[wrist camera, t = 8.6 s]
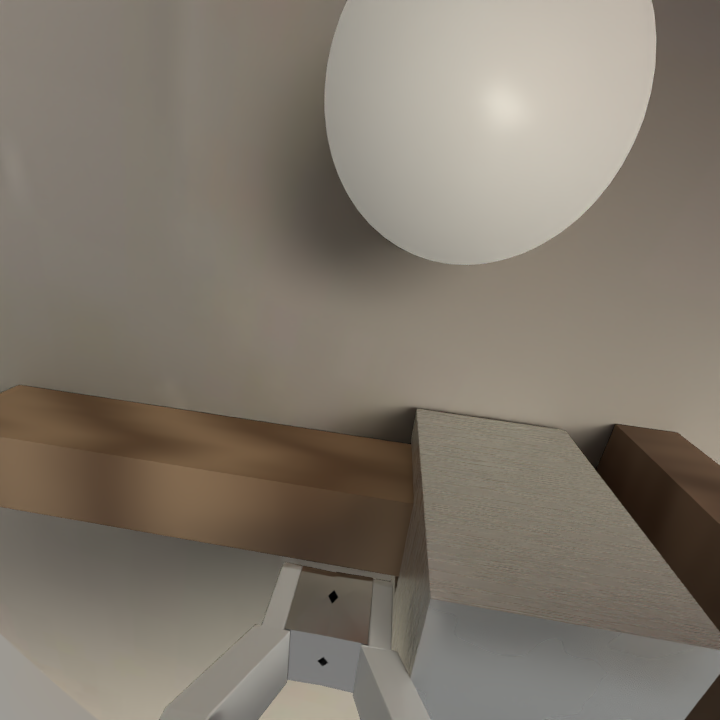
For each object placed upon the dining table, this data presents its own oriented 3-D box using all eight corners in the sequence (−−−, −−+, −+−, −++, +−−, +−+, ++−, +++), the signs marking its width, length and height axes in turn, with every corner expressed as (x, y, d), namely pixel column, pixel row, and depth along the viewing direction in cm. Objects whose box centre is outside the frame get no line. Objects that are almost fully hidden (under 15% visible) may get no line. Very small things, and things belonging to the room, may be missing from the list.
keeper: (392, 541, 15) (384, 778, 9) (416, 408, 13) (430, 598, 6) (516, 562, 15) (603, 824, 8) (564, 430, 12) (735, 652, 6)
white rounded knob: (346, 237, 11) (315, 247, 7) (365, 19, 9) (336, -131, 5) (521, 258, 11) (589, 280, 7) (579, 36, 9) (720, -111, 5)
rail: (46, 486, 16) (-242, 702, 9) (6, 336, 14) (-444, 471, 6) (603, 580, 15) (798, 931, 7) (677, 432, 12) (1086, 751, 5)
